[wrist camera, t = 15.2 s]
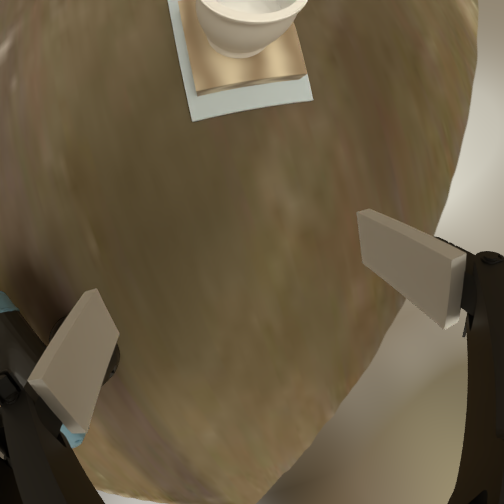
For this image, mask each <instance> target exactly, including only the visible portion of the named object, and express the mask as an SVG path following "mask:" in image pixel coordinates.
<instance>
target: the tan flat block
mask: <svg viewBox="0 0 504 504" xmlns="http://www.w3.org/2000/svg"><path fill="white" fill-rule="evenodd" d="M178 5H179V11H180V16H181V21H182V26H183V31H184V36H185V40H186V45H187V50H188V55H189V60H190V65H191V69H192V74H193V79H194V84H195V88H196V92H197V96H202V95H206V94H211V93H215V92H220V91H225V90H230V89H236V88H241V87H247V86H253V85H260V84H266V83H274V82H282V81H290V80H299V79H301V78H302V77H303V76H305V75H306V74H307V70H306V66H305V62H304V58H303V54H302V50H301V47H300V43H299V39H298V35H297V32H296V28H295V25H294V21H293V23H292V24H291V26H290V27H289V28H288V29H287V30H286V32H285V33H284V34H282V35H281V36H280V37H279V38H278V39H276V40H275V41H273V42H272V43H270V44H269V45H268V46H266V47H265V49H264V50H262V51H261V52H260V53H258V54H256V55H254V56H251V57H248V58H230V57H226V56H224V55H221V54H219V53H218V52H216V51H215V50H214V49H213V48H212V47H211V45H210V44H209V42H208V40H207V36H206V34H205V33H204V30H203V29H202V27H201V25H200V23H199V21H198V18H197V13H196V0H181V1H178Z"/></svg>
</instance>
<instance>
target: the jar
mask: <svg viewBox="0 0 504 504" xmlns="http://www.w3.org/2000/svg"><path fill="white" fill-rule="evenodd" d="M307 1H308V0H196V13H197V18H198V21H199V23H200V25H201V27H202V29H203V30H204V33H205V34H206V36H207V40H208V42H209V44H210V45H211V47H212V48H213V49H214V50H215V51H216V52H218V53H219V54H221V55H224V56H226V57H230V58H248V57H251V56H254V55H256V54H258V53H260V52H261V51H262V50H264V49H265V47H266V46H268V45H269V44H270V43H272V42H273V41H275V40H276V39H278V38H279V37H280V36H281V35H282V34H284V33H285V32H286V30H287V29H288V28H289V27H290V26H291V24H292V23H293V21H294V19H295V17H296V15H297V13H298V12H299V11H300V10H301V9H302V8H303V7H304V6H305V5H306V3H307Z"/></svg>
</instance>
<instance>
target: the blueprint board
mask: <svg viewBox="0 0 504 504" xmlns="http://www.w3.org/2000/svg"><path fill="white" fill-rule="evenodd" d="M178 1H181V0H168V5H169V10H170V16H171V21H172V26H173V31H174V37H175V42H176V47H177V52H178V57H179V62H180V67H181V72H182V76H183V81H184V86H185V91H186V95H187V100H188V105H189V109H190V114H191V118H192V122H196V121H200V120H204V119H208V118H213V117H217V116H222V115H227V114H232V113H237V112H242V111H247V110H253V109H258V108H264V107H271V106H277V105H284V104H291V103H299V102H308V101H312V100H313V97H312V92H311V88H310V83H309V79H308V75H307V74H306V75H305V76H303V77H302V78H301V79H299V80H290V81H282V82H274V83H266V84H260V85H253V86H247V87H241V88H236V89H230V90H225V91H220V92H215V93H211V94H206V95H202V96H197V92H196V88H195V84H194V79H193V74H192V69H191V65H190V60H189V55H188V50H187V45H186V40H185V36H184V31H183V26H182V21H181V16H180V11H179V5H178ZM300 47H301V46H300Z"/></svg>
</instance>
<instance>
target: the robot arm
mask: <svg viewBox="0 0 504 504" xmlns="http://www.w3.org/2000/svg"><path fill="white" fill-rule="evenodd" d="M356 213H357V220H358V228H359V236H360V245H361V254H362V263H363V264H364V265H366V266H367V267H368V268H369V269H371V270H372V271H373V272H375V273H376V274H377V275H378V276H380V277H381V278H382V279H383V280H385V281H386V282H387V283H388V284H390V285H391V286H392V287H393V288H395V289H396V290H397V291H398V292H400V293H401V294H402V295H403V296H405V297H406V298H407V299H408V300H409V301H411V302H412V303H413V304H414V305H415V306H417V307H418V308H419V309H420V310H421V311H423V312H424V313H425V314H426V315H427V316H429V317H430V318H431V319H432V320H433V321H434V322H436V323H437V324H438V325H439V326H440V327H441V328H442V329H444V330H445V329H447V328H449V327H450V326H452V325H454V324H455V323H457V322H458V321H459V315H460V310H461V308H462V309H464V310H465V311H466V312H467V317H466V322H465V328H464V332H463V337H465V335H466V333H467V350H468V394H467V412H466V424H465V433H464V441H463V449H462V455H461V461H460V467H459V473H458V477H457V482H456V486H455V489H454V492H453V493H452V495H451V497H450V499H449V502H448V504H504V257H503V256H502V255H500V254H499V253H496V252H490V251H484V252H480V253H477V254H476V255H474V254H472V253H470V252H468V251H466V250H464V249H462V248H460V247H458V246H455V245H454V244H452V243H448V242H447V241H446V240H443V239H441V238H439V237H434V236H431V235H428V234H426V233H424V232H422V231H420V230H418V229H415V228H413V227H411V226H409V225H407V224H404V223H402V222H400V221H397V220H395V219H393V218H391V217H388V216H386V215H383V214H381V213H379V212H376V211H374V210H371V209H367V210H363V211H359V212H356ZM119 334H120V333H119V331H118V329H117V328H116V326H115V324H114V322H113V320H112V318H111V316H110V314H109V312H108V310H107V308H106V306H105V304H104V302H103V300H102V298H101V296H100V294H99V292H98V289H97V288H95V289H92V290H89V291H85V292H84V293H83V295H82V296H81V298H80V299H79V300H78V302H77V303H76V305H75V306H74V307H73V309H72V310H71V312H70V313H69V315H68V316H66V317H63V318H62V319H60V320H59V321H58V322H57V323H56V325H55V326H54V327H53V329H52V331H51V333H50V338H49V345H48V346H47V347H46V346H45V345H44V343H43V342H42V341H41V340H40V338H39V337H38V336H37V335H36V333H35V332H34V331H33V329H32V328H31V327H30V325H29V324H28V323H27V321H26V320H25V319H24V317H23V316H22V315H21V313H20V310H19V309H18V308H17V307H15V305H14V304H13V303H12V301H11V300H10V299H9V297H8V296H7V295H6V294H5V293H4V292H3V291H0V405H1V407H0V451H1V452H2V453H3V454H4V459H2V458H1V457H0V504H105V503H104V502H103V500H102V498H101V497H100V495H99V494H98V492H97V491H96V489H95V488H94V486H93V485H92V483H91V481H90V480H89V478H88V476H87V475H86V473H85V471H84V470H83V468H82V466H81V464H80V463H79V461H78V459H77V457H76V455H75V454H74V452H73V450H72V448H75V447H77V446H79V445H80V444H81V443H82V441H83V439H84V437H85V434H86V433H87V432H88V429H89V424H90V421H91V418H92V414H93V411H94V407H95V404H96V401H97V398H98V395H99V391H100V388H101V387H102V386H103V385H104V384H105V383H106V382H107V381H108V380H109V378H111V377H112V376H113V375H114V373H115V371H116V369H117V367H118V364H119V360H120V353H119V349H118V346H117V344H116V342H117V340H118V337H119Z"/></svg>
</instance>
